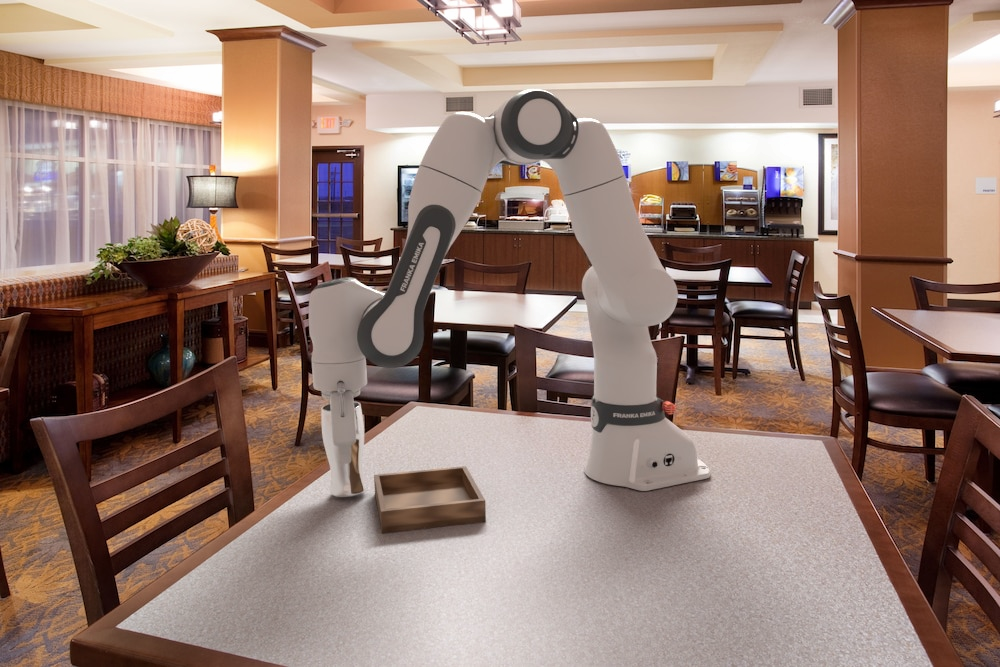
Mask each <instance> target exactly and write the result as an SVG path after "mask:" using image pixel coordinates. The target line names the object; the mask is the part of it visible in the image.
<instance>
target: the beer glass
mask: <svg viewBox="0 0 1000 667" xmlns="http://www.w3.org/2000/svg"><path fill="white" fill-rule="evenodd" d="M320 410H321V413H320V414H321V415H320V416H321V436H322V441H323V446H324V450H325V454H326V457H327V461H328V463H329V468H330V469H329V470H330V485H329V486H330V488H329V491H330V492H329V493H330V494H331V495H332V496H333V497H337V498H349V497H350V498H351V497H354V496H355V497H356V496H358V495H361V494H363V493H364V492H365V491H366V490H367V484H366V479H365V476H364V472H363V460H364V459H363V456H364V448H365V425H364V424H365V423H364V416H363V410H362V404H361V402H358V401H356V400H355V401H354V410H355V424H356V443H355V444H352V445H351V462H350V463H348V464H342V463H341V462H340V453H339V448H338V446H335V445H334V444H333V439H332V424H331V409H330V403H327V404H324V405H322V406H321V408H320ZM341 417H342V416H341ZM344 417H345V416H344Z"/></svg>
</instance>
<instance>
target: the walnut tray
mask: <svg viewBox="0 0 1000 667" xmlns="http://www.w3.org/2000/svg"><path fill="white" fill-rule="evenodd" d="M373 481H374V484H373V485H374V497H375V501H376V502H375V503H376V509H377V512H378V513H377V514H378V518H379V519H378V520H379V523H380V524H379V525H380V529H381V534H389V533H390V532H391V533H398V531H400V532H407V531H406V530H408V531H415V530H414V529H417V530H424V529H434V528H441V527H450V526H460V525H469V524H478V523H486V522H487V521H486V520H487V516H486V515H487V513H486V498H485V497H484V495H483V494H482V492H481V490H480V488H479V487H478V485H477V482H475V480H474V478H473V476H472V475H471V473H470V470H469V469H468V467H467V466H466V465H465V466H453V467H444V468H443V467H442V468H432V469H422V470H411V471H399V472H390V473H381V474H380V473H379V474H374V475H373ZM391 533H390V534H391Z"/></svg>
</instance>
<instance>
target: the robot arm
mask: <svg viewBox="0 0 1000 667" xmlns="http://www.w3.org/2000/svg"><path fill="white" fill-rule="evenodd" d="M540 161H543V163H544V162H545V163H546V164H547V165H549V167H550V168H551V169H552V171H553V172H554V174H555V176H556V177H557V181H558V184H559V188H560V191H561V194H562V198H563V201H564V204H565V207H566V210H567V214H568V216H569V220H570V224H571V226H572V229H573V233H574V235H575V238H576V240H577V242H578V243H579V245H580V246H581V247H582V249H583V251H584V252H585V254H586V256H587V259H588V260H589V262H590V264H591V266H590V267H589V268H588V269H587V270H586V271H585V273H584V275H583V277H582V282H581V291H582V295H583V297H584V300H585V303H586V304H585V305H586V310H587V318H588V324H589V325H588V326H589V331H590V336H591V342H592V343H591V344H592V349H593V367H594V368H593V369H594V370H593V380H594V382H593V396H592V397H591V408H590V422H591V428H592V434H591V442H590V448H589V453H588V457H587V460H586V465H585V466H584V467H585V468H584V473H585V475H586V476H587V477H589V478H590V479H591V480H594V481H596V482H599V483H602V484H605V485H611V486H618V487H625V488H629V489H633V490H636V491H641V492H647V491H651V490H657V489H658V490H659V489H662V488H667V487H672V486H676V485H681V484H686V483H691V482H696V481H701V480H705V479H710V477H711V470H710V467H709V466H708V465H707V464H706V463H705V462H703V461H702V460H701V459H700V458H698V453H697V449H696V444H695V443H694V440H693V439H692V437H691V436H689V434H688V433H686V432H685V431H684V430H683V429H681V428H680V427H678V426H677V425H676V424H674V423H673V422H672V421H671V420H670V419H668V418H667V417H666V415H665V413H666V414H668V415H674V414H675V412H676V411H677V405H676V404H674V403H672V402H671V401H669V400H664V399H661V398H659V397H658V396H657V379H658V378H657V372H658V371H657V370H658V365H657V363H658V356H657V352H656V349H655V348H654V346H653V344H652V339H651V335H650V331H649V327H651V326H656V325H659V324H662V323H664V322H665V321H666V320H667V319H669V318H670V317H671V316H672V314H673V312H674V311H675V308H676V306H677V303H678V298H679V292H678V287H677V284H676V282H675V280H674V279H673V277H672V276H671V275H670V274H669V273H668V271H667V270H666V269H665V268H664V266H663V265H662V263H661V261H660V259H659V257H658V254H657V252H656V251H655V249H654V246H653V244H652V242H651V240H650V239H649V237H648V235H647V233H646V231H645V228H644V227H643V225H642V222H641V220H640V219H639V215H638V212H637V209H636V206H635V202H634V199H633V197H632V192H631V190H630V187H629V183H628V180H627V176H626V174H625V170H624V168H623V164H622V161H621V159H620V156H619V154H618V151H617V149H616V146H615V144H614V142H613V141H612V138H611V136H610V134H609V133H608V130H607V128H606V126H604V124H603V123H602V122H601V121H599V120H596V119H593V118H589V117H588V118H586V117H583V118H577V117H576V116H575V115H574V113H572V112H571V111H570V110H569V109H568V108H567V107H566V106H565V105H564V103H563V102H562V101H561V100H560V99H559V98H558V97H557V96H556V95H554V94H552V93H551V92H549V91H547V90H543V89H538V88H529V89H525V90H523V91H520V92H518V93H516V94H514V95H513V96H510V97H509V98H508V99H506V100H504V102H503V103H502V104H501V105H500V106H499V107H498V108H497V110H495V111H494V112H493V113H491V114H490V115H488V116H487V117H484V116H483V117H481V116H480V115H478V114H476V113H473V112H467V111H457V112H453V113H451V114H449V115H448V116H447V117H446V118H444V120H443V122H442V124H441V125H440V126H439V127H438V129H437V130H436V132H435V134H434V136H433V137H432V139H431V141H430V142H429V145H428V147H427V148H426V151H425V153H424V154H423V157H422V160H421V162H420V164H419V166H418V169H417V172H416V174H415V177H414V179H413V184H412V186H411V189H410V190H411V191H410V194H409V199H408V200H409V202H408V204H407V205H408V207H407V217H408V218H407V219H408V220H407V221H408V222H407V235H406V240H405V244H404V248H403V249H402V252H401V256H400V258H399V260H398V262H397V265H396V267H395V269H394V271H393V272H394V273H393V275H392V277H391V280H390V282H389V284H388V287H387V290H386V291H385V292H382V291H380V290H377V289H374V288H372V287H369V286H367V285H366V284H364V283H361V281H359V280H358V279H357V278H355V277H350V276H349V277H339V278H335V279H331V280H327V281H325V282H321V283H319V284H318V285H316V286H315V287H314V288H313V290H312V291H311V292H310V294H309V300H308V331H309V338H310V339H311V341H312V353H311V369H312V372H311V373H312V382H313V383H312V384H313V386H312V387H313V389H314V390H317V391H320V392H321V397H322V398H323V399H325V400H328V401H329V403H330V409H331V424H332V439H333V444H334V445H335V446H338V448H339V453H340V462H341V463H342V464H348V463H350V462H351V445H352V444H355V443H356V424H355V410H354V398H356V397H358V396H360V394H361V388H363V387H365V386H367V384H368V374H367V361H369V362H370V363H372V364H373V365H375V366H378V367H380V368H385V369H396V368H397V369H398V368H401V367H404V366H406V365H408V364H410V363H411V362H412V361H414V360H415V359H416V358H417V356H418V355H419V353H420V352H421V351H422V347H423V344H424V339H425V338H424V337H425V326H424V314H425V309H426V305H427V302H428V299H429V296H430V295H431V292H432V289H433V287H434V284H435V281H436V279H437V276H438V274H439V272H440V269H441V266H442V265H443V261H444V260H445V257H446V255H447V254H448V252H449V250H450V248H451V246H452V245H453V244H454V242H455V241H456V239H457V237H458V236H459V235H460V233H461V231H462V230H463V229H464V227H465V226H466V224H467V223H468V221H469V220H470V218H471V216H472V214H473V212H474V211H475V208H476V207H477V204H478V203H479V201H480V198H481V196H482V193H483V191H484V188H485V186H486V183H487V180H488V178H489V176H490V175H491V173H492V171H493V169H494V168H495V167H496V166H497V165H498V164H503V165H507V166H508V165H509V166H515V167H517V166H524V165H532V164H536V163H539V162H540ZM366 359H367V360H366ZM329 403H328V404H329ZM341 416H342V417H341ZM344 416H345V417H344Z"/></svg>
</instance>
